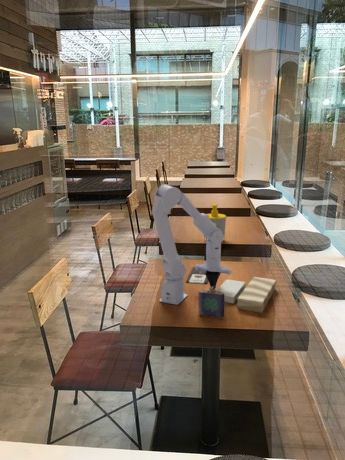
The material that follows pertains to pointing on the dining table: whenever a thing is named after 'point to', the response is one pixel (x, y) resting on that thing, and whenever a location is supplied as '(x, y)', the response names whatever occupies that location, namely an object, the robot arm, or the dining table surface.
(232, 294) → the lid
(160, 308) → the dining table surface
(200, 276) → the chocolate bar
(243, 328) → the dining table surface
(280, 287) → the dining table surface
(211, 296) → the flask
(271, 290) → the striped cream block
